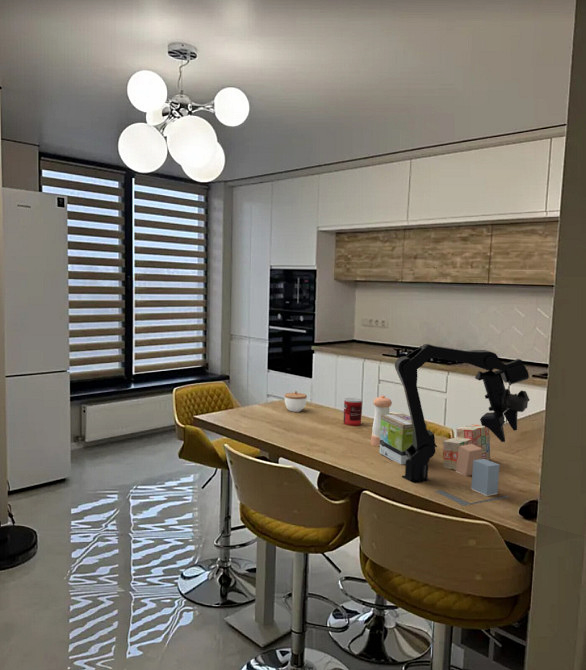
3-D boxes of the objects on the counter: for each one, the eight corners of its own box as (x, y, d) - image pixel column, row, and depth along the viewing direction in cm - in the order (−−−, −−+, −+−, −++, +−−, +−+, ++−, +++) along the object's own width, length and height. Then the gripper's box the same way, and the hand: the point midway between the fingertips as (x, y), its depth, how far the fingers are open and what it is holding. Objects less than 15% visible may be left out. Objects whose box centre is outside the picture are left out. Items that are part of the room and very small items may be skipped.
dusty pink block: (478, 474, 185) (482, 449, 184) (465, 477, 182) (469, 451, 181) (468, 469, 189) (472, 443, 187) (455, 471, 186) (459, 446, 185)
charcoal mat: (463, 507, 157) (463, 505, 157) (434, 492, 167) (434, 491, 167) (509, 498, 165) (509, 496, 165) (478, 484, 176) (479, 483, 176)
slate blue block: (486, 496, 165) (488, 466, 164) (471, 489, 170) (473, 460, 169) (497, 494, 167) (499, 464, 166) (482, 487, 172) (484, 458, 171)
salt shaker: (368, 445, 216) (371, 396, 214) (373, 440, 223) (375, 393, 221) (387, 447, 213) (390, 398, 212) (391, 443, 220) (394, 395, 219)
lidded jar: (306, 408, 278) (307, 390, 277) (305, 413, 267) (306, 394, 266) (285, 407, 279) (286, 388, 278) (282, 412, 268) (283, 392, 267)
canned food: (348, 420, 255) (349, 397, 255) (364, 423, 251) (365, 399, 250) (339, 423, 249) (341, 399, 248) (355, 426, 245) (357, 402, 244)
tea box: (378, 453, 205) (380, 413, 204) (401, 451, 209) (403, 412, 208) (400, 466, 191) (403, 423, 190) (425, 464, 195) (428, 422, 194)
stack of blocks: (460, 471, 186) (458, 433, 186) (443, 468, 191) (441, 432, 191) (490, 459, 201) (489, 425, 201) (474, 457, 206) (473, 423, 206)
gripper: (507, 397, 163) (522, 447, 164) (532, 376, 176) (545, 423, 177) (473, 400, 171) (487, 448, 172) (498, 380, 184) (512, 425, 185)
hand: (509, 435), depth 177 cm, fingers open, 9 cm apart
